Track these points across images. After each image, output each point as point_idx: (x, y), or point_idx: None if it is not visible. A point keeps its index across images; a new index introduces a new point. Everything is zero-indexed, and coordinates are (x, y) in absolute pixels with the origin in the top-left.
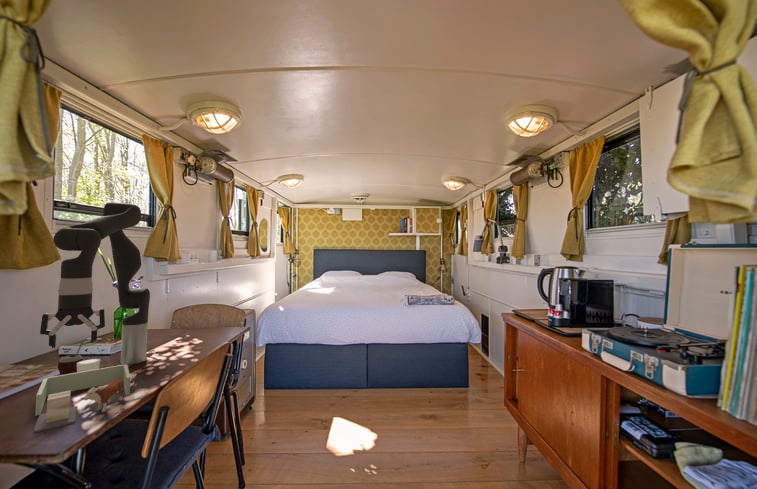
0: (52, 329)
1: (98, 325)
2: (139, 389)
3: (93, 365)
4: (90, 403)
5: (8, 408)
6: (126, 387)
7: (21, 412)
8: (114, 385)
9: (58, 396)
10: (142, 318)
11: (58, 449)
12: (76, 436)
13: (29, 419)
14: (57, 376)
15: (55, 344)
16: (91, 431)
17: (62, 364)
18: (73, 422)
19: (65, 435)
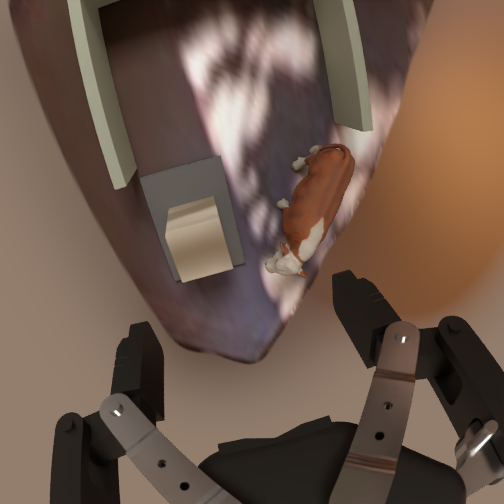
0: (118, 435)
1: (424, 375)
2: None
3: None
4: (248, 135)
5: (34, 80)
6: (346, 125)
7: (79, 125)
8: (336, 210)
9: (202, 265)
10: None
11: (249, 352)
12: (264, 321)
13: (124, 190)
14: None
15: (157, 354)
16: (285, 312)
17: None
18: (242, 262)
19: (244, 311)
